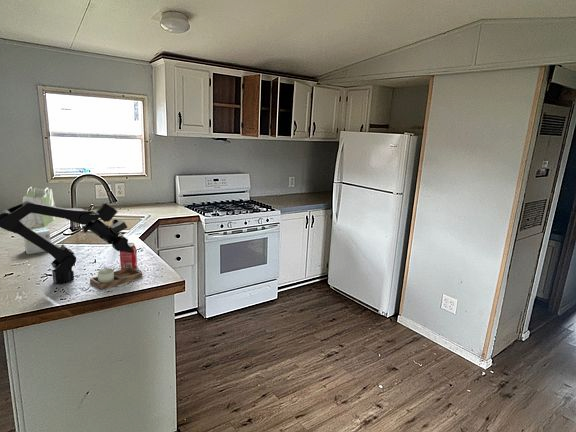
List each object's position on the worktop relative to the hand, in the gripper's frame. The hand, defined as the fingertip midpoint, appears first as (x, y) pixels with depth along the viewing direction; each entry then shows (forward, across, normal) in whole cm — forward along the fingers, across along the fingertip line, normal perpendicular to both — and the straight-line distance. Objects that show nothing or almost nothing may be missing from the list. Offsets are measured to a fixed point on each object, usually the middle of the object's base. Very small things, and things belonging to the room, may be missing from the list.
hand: (129, 249), depth 164 cm
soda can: (+7, 0, +7) cm, 10 cm away
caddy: (0, -11, +14) cm, 18 cm away
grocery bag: (-4, +116, +18) cm, 117 cm away
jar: (-4, -12, +16) cm, 21 cm away
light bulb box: (-13, +51, +27) cm, 59 cm away
